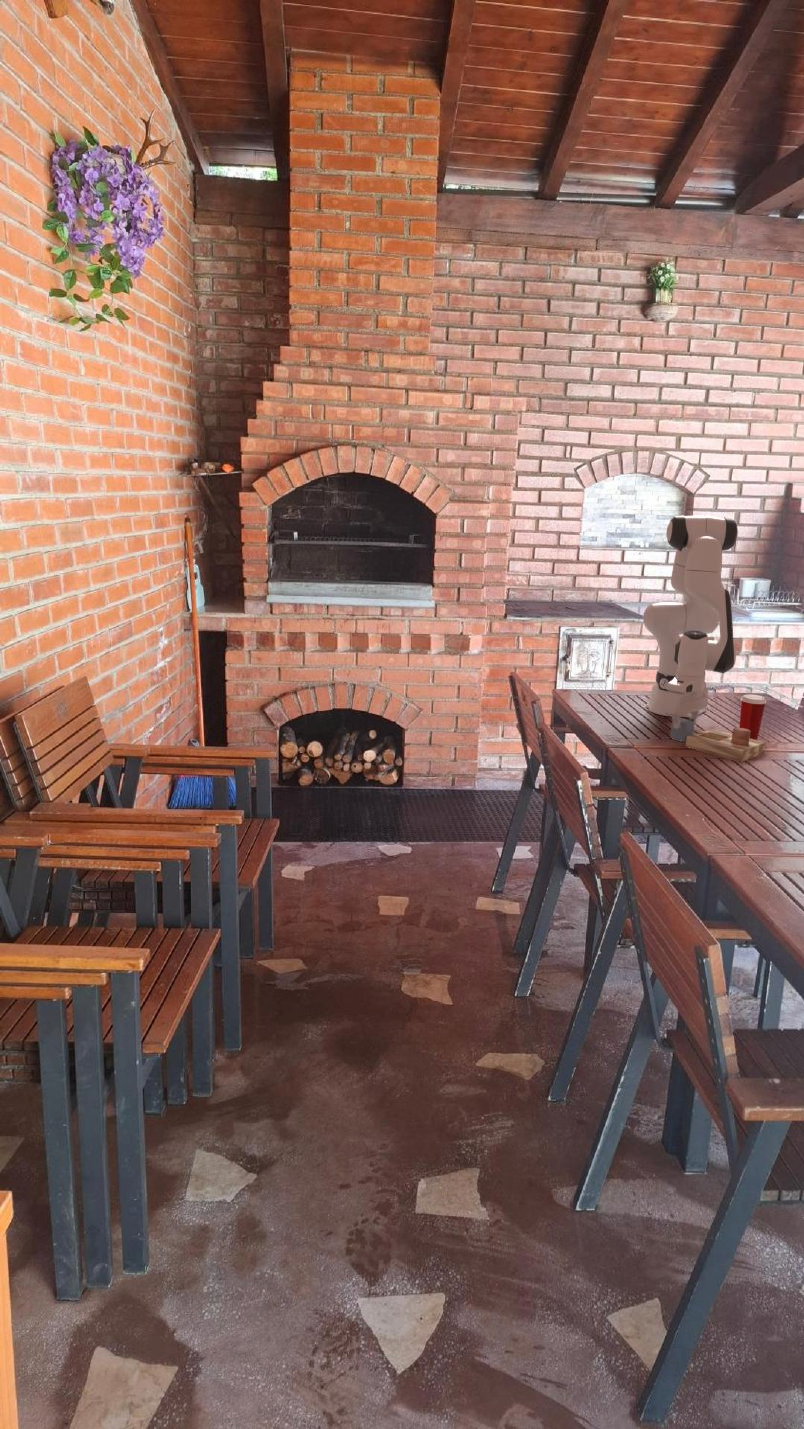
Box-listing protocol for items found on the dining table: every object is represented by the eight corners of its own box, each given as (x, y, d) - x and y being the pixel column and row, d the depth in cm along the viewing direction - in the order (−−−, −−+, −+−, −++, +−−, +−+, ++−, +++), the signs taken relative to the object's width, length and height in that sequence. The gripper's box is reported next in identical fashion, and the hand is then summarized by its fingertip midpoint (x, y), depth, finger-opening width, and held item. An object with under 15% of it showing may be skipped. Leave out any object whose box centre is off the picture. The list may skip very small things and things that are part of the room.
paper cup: (761, 738, 296) (767, 696, 292) (759, 743, 289) (766, 701, 285) (736, 734, 299) (741, 692, 295) (733, 740, 292) (739, 697, 288)
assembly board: (710, 739, 291) (713, 716, 290) (764, 753, 279) (767, 729, 277) (685, 747, 282) (688, 724, 280) (740, 762, 269) (743, 737, 267)
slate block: (678, 736, 294) (680, 718, 293) (692, 739, 291) (694, 721, 289) (669, 738, 291) (672, 720, 289) (683, 742, 287) (686, 723, 286)
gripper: (697, 678, 295) (692, 719, 298) (663, 685, 281) (658, 728, 284) (715, 681, 290) (709, 723, 294) (682, 688, 277) (676, 732, 280)
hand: (684, 726), depth 289 cm, fingers open, 8 cm apart
